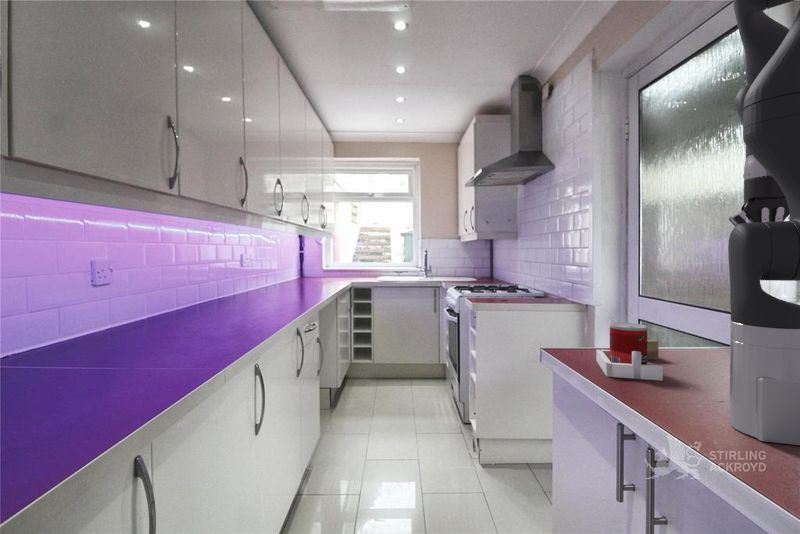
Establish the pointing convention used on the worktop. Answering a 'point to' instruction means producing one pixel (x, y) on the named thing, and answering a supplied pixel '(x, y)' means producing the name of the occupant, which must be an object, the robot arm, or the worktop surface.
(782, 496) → the worktop surface
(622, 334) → the canned food
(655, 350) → the walnut block
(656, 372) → the tray
